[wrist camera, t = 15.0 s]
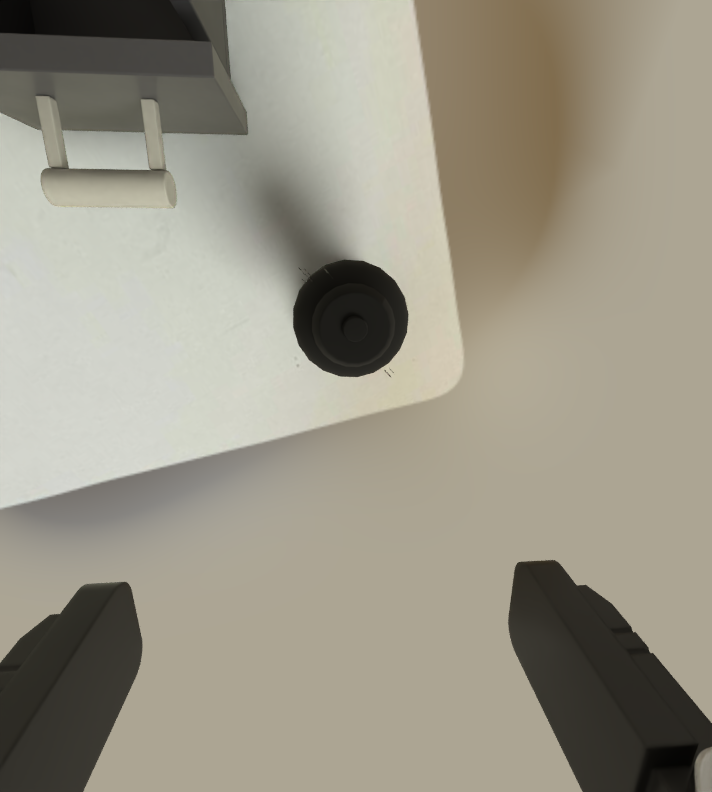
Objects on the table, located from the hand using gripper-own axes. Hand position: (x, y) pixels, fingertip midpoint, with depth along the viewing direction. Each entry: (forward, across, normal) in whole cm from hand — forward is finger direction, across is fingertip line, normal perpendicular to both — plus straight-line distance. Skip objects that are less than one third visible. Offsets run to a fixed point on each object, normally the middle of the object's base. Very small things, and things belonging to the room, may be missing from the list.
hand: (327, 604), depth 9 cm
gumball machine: (+22, -1, -4) cm, 22 cm away
